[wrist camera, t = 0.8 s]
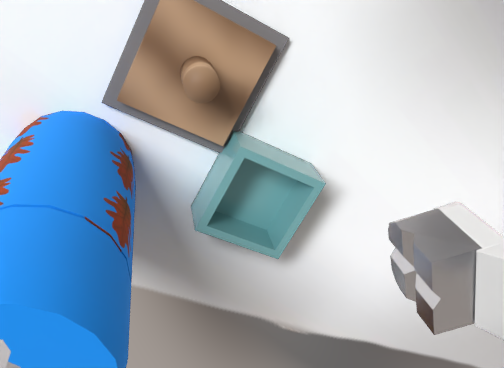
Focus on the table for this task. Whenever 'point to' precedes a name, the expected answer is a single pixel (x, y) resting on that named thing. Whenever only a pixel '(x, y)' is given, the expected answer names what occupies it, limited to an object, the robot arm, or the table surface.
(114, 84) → the mat
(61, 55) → the table surface
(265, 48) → the lid
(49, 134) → the thermos
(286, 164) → the teal open box
